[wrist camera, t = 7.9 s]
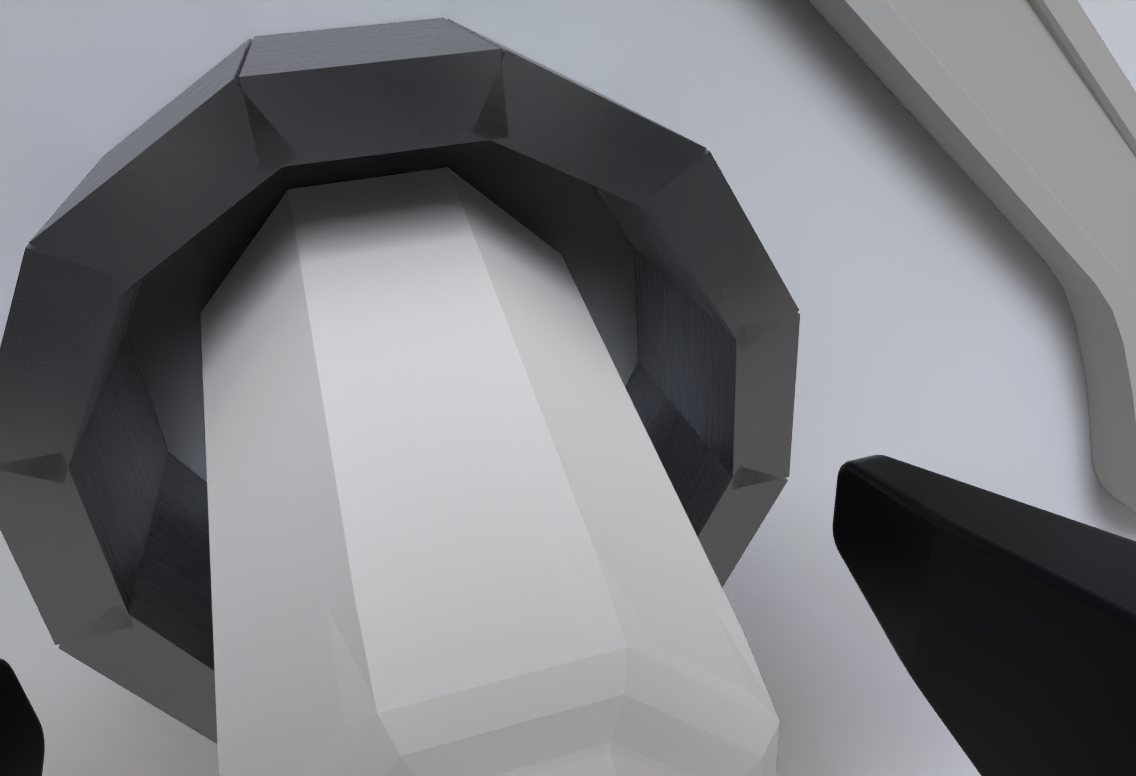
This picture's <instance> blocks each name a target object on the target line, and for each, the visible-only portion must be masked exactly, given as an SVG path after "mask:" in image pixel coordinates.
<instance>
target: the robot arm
mask: <svg viewBox="0 0 1136 776" xmlns="http://www.w3.org/2000/svg"><path fill="white" fill-rule="evenodd" d="M833 536H834V540H835V544H836V546H837V549H838V551H839V553H840V555H841V557H842V558H843V560H844V562H845V564H846V565H847V567H848V569H849V571H850V572H851V574H852V576H853V578H854V579H855V581H856V583H857V585H858V586H859V588H860V590H861V592H862V593H863V595H864V597H865V599H866V600H867V602H868V604H869V606H870V607H871V609H872V611H873V613H874V614H875V616H876V618H877V620H878V622H879V623H880V625H881V627H882V629H883V630H884V632H885V634H886V636H887V637H888V639H889V641H890V643H891V644H892V646H893V648H894V650H895V651H896V653H897V655H898V656H899V658H900V660H901V661H902V663H903V665H904V666H905V668H906V669H907V671H908V673H909V674H910V676H911V677H912V679H913V680H914V682H915V683H916V685H917V686H918V688H919V689H920V691H921V692H922V693H923V695H924V696H925V698H926V699H927V701H928V702H929V703H930V705H931V706H932V708H933V709H934V710H935V712H936V713H937V714H938V716H939V717H940V719H941V720H942V721H943V723H944V724H945V726H946V727H947V728H948V730H949V731H950V733H951V734H952V735H953V737H954V738H955V740H956V741H957V742H958V744H959V745H960V747H961V748H962V749H963V751H964V752H965V754H966V755H967V756H968V758H969V759H970V761H971V762H972V763H973V765H974V766H975V767H976V769H977V770H978V772H979V773H980V774H981V776H1136V541H1133V540H1130V539H1127V538H1124V537H1121V536H1118V535H1115V534H1112V533H1109V532H1106V531H1104V530H1101V529H1098V528H1095V527H1092V526H1089V525H1086V524H1083V523H1080V522H1077V521H1074V520H1071V519H1068V518H1066V517H1063V516H1060V515H1057V514H1054V513H1051V512H1048V511H1045V510H1042V509H1039V508H1036V507H1033V506H1031V505H1028V504H1025V503H1022V502H1019V501H1016V500H1013V499H1010V498H1007V497H1004V496H1001V495H998V494H996V493H993V492H990V491H987V490H984V489H981V488H978V487H975V486H972V485H969V484H966V483H963V482H960V481H958V480H955V479H952V478H949V477H946V476H943V475H940V474H937V473H934V472H931V471H928V470H925V469H923V468H920V467H917V466H914V465H911V464H908V463H905V462H902V461H899V460H896V459H893V458H890V457H888V456H884V455H873V456H869V457H864V458H860V459H856V460H851V461H848V462H846V463H845V464H843V465H842V466H841V468H840V470H839V472H838V478H837V487H836V497H835V507H834V517H833ZM44 751H45V745H44V735H43V730H42V726H41V724H40V721H39V719H38V717H37V715H36V713H35V711H34V709H33V708H32V706H31V704H30V702H29V700H28V698H27V696H26V694H25V692H24V690H23V688H22V686H21V684H20V683H19V681H18V679H17V677H16V675H15V673H14V671H13V669H12V668H11V666H10V665H9V664H8V663H7V662H6V661H5V660H3V659H0V776H42V771H43V762H44Z"/></svg>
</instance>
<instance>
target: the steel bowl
mask: <svg viewBox="0 0 1136 776" xmlns="http://www.w3.org/2000/svg"><path fill="white" fill-rule="evenodd" d="M486 140H491V141H494V142H496V143H498V144H500V145H503V146H505V147H507V148H509V149H512V150H514V151H516V152H519V153H521V154H523V155H525V156H528V157H530V158H532V159H535V160H537V161H539V162H541V163H544V164H546V165H548V166H550V167H553V168H555V169H557V170H560V171H562V172H564V173H566V174H569V175H571V176H573V177H576V178H578V179H580V180H582V181H585V182H587V183H589V184H591V185H594V187H595V188H596V190H597V191H598V193H599V194H600V196H601V197H602V199H603V200H604V202H605V203H606V205H607V206H608V208H609V209H610V211H611V212H612V214H613V215H614V217H615V218H616V220H617V221H618V223H619V224H620V226H621V227H622V229H623V230H624V232H625V233H626V235H627V236H628V238H629V239H630V241H631V242H632V244H633V245H634V247H635V256H636V288H637V321H638V353H639V362H638V364H637V366H636V368H635V370H634V372H633V374H632V376H631V378H630V380H629V382H628V384H627V386H626V387H625V388H626V390H627V392H628V394H629V396H630V398H631V400H632V402H633V405H634V407H635V409H636V411H637V413H638V415H639V417H640V419H641V421H642V423H643V425H644V427H645V429H646V431H647V434H648V436H649V438H650V440H651V442H652V444H653V446H654V448H655V450H656V452H657V454H658V456H659V458H660V460H661V463H662V465H663V467H664V469H665V471H666V473H667V475H668V477H669V479H670V481H671V483H672V485H673V487H674V489H675V492H676V494H677V496H678V498H679V500H680V502H681V504H682V506H683V508H684V510H685V512H686V514H687V516H688V518H689V520H690V523H691V525H692V527H693V529H694V531H695V533H696V535H697V537H698V539H699V541H700V543H701V545H702V547H703V549H704V552H705V554H706V556H707V558H708V560H709V562H710V564H711V566H712V568H713V570H714V572H715V574H716V576H717V578H718V581H719V583H720V585H721V587H723V585H724V584H725V582H726V580H727V579H728V577H729V576H730V574H731V572H732V571H733V569H734V567H735V566H736V564H737V562H738V561H739V559H740V558H741V556H742V554H743V553H744V551H745V549H746V548H747V546H748V545H749V543H750V541H751V540H752V538H753V536H754V535H755V533H756V531H757V530H758V528H759V527H760V525H761V523H762V522H763V520H764V518H765V517H766V515H767V513H768V512H769V510H770V509H771V507H772V505H773V504H774V502H775V500H776V499H777V497H778V496H779V494H780V492H781V491H782V489H783V487H784V486H785V484H786V482H787V481H788V480H787V479H786V478H785V477H789V471H790V456H791V441H792V426H793V411H794V396H795V381H796V366H797V351H798V336H799V322H800V314H799V313H797V312H798V311H799V309H798V307H797V306H796V304H795V302H794V300H793V299H792V297H791V295H790V293H789V291H788V290H787V288H786V286H785V284H784V283H783V281H782V279H781V277H780V275H779V274H778V272H777V270H776V268H775V266H774V265H773V263H772V261H771V259H770V258H769V256H768V254H767V252H766V250H765V249H764V247H763V245H762V243H761V242H760V240H759V238H758V236H757V234H756V233H755V231H754V229H753V227H752V226H751V224H750V222H749V220H748V218H747V217H746V215H745V213H744V211H743V210H742V208H741V206H740V204H739V202H738V201H737V199H736V197H735V195H734V193H733V192H732V190H731V188H730V186H729V185H728V183H727V181H726V179H725V177H724V176H723V174H722V172H721V170H720V169H719V167H718V165H717V163H716V161H715V160H714V158H713V156H712V154H711V153H710V151H708V150H706V148H705V147H703V146H701V145H699V144H697V143H695V142H693V141H691V140H689V139H687V138H685V137H683V136H682V135H680V134H678V133H676V132H674V131H672V130H670V129H668V128H666V127H664V126H662V125H660V124H658V123H656V122H654V121H652V120H650V119H648V118H646V117H644V116H643V115H641V114H639V113H637V112H635V111H633V110H631V109H629V108H627V107H625V106H623V105H621V104H619V103H617V102H615V101H613V100H611V99H609V98H607V97H605V96H603V95H601V94H599V93H597V92H595V91H593V90H591V89H589V88H587V87H585V86H583V85H581V84H579V83H577V82H575V81H573V80H571V79H569V78H567V77H565V76H563V75H561V74H559V73H557V72H555V71H553V70H551V69H549V68H547V67H545V66H543V65H541V64H539V63H537V62H535V61H533V60H530V59H528V58H526V57H524V56H522V55H520V54H518V53H516V52H514V51H512V50H510V49H508V48H506V47H504V46H502V45H500V44H498V43H496V42H494V41H492V40H490V39H488V38H486V37H484V36H482V35H480V34H478V33H476V32H474V31H472V30H470V29H468V28H466V27H464V26H461V25H459V24H457V23H455V22H453V21H451V20H449V19H448V20H446V19H444V18H438V19H428V20H418V21H408V22H398V23H388V24H378V25H368V26H358V27H347V28H337V29H327V30H317V31H307V32H297V33H287V34H277V35H267V36H256V37H254V39H253V41H252V40H251V39H249V40H248V41H246V42H245V43H244V44H243V45H241V46H240V47H239V48H238V49H236V50H235V51H234V52H233V53H231V54H230V55H229V56H228V57H226V58H225V59H224V60H223V61H221V62H220V63H219V64H218V65H216V66H215V67H214V68H213V69H211V70H210V71H209V72H208V73H206V74H205V75H204V76H203V77H201V78H200V79H199V80H198V81H196V82H195V83H194V84H193V85H192V86H190V87H189V88H188V89H187V90H185V91H184V92H183V93H182V94H180V95H179V96H178V97H177V98H175V99H174V100H173V101H172V102H170V103H169V104H168V105H167V106H165V107H164V108H163V109H162V110H160V111H159V112H158V113H157V114H155V115H154V116H153V117H152V118H150V119H149V120H148V121H147V122H145V123H144V124H143V125H142V126H140V127H139V128H138V129H137V130H135V131H134V132H133V133H132V134H131V135H129V136H128V137H127V138H126V139H124V140H123V141H122V142H121V143H119V144H118V145H117V146H116V147H114V148H113V149H112V150H111V151H109V152H108V153H107V154H106V155H104V156H103V157H102V159H101V160H100V161H99V162H98V163H97V164H96V166H95V167H94V168H93V169H92V170H91V171H90V172H89V174H88V175H87V176H86V177H85V178H84V179H83V181H82V182H81V183H80V184H79V185H78V186H77V188H76V189H75V190H74V191H73V192H72V193H71V194H70V196H69V197H68V198H67V199H66V200H65V201H64V203H63V204H62V205H61V206H60V207H59V208H58V210H57V211H56V212H55V213H54V214H53V215H52V217H51V218H50V219H49V220H48V221H47V222H46V223H45V225H44V226H43V227H42V228H41V229H40V230H39V232H38V233H37V234H36V235H35V236H34V237H33V239H32V240H31V241H30V242H29V244H28V246H27V247H26V248H25V252H24V256H23V260H22V264H21V268H20V272H19V276H18V280H17V284H16V288H15V292H14V296H13V300H12V304H11V308H10V312H9V315H8V319H7V323H6V327H5V331H4V335H3V339H2V343H1V347H0V530H1V532H2V534H3V536H4V538H5V540H6V542H7V544H8V547H9V549H10V551H11V553H12V555H13V557H14V559H15V561H16V563H17V565H18V568H19V570H20V572H21V574H22V576H23V578H24V580H25V582H26V584H27V586H28V588H29V591H30V593H31V595H32V597H33V599H34V601H35V603H36V605H37V607H38V609H39V611H40V614H41V616H42V618H43V620H44V622H45V624H46V626H47V628H48V630H49V632H50V634H51V637H52V639H53V641H54V643H55V645H57V644H60V645H59V649H61V650H63V651H64V652H66V653H68V654H69V655H71V656H72V657H74V658H76V659H77V660H79V661H81V662H82V663H84V664H86V665H87V666H89V667H91V668H92V669H94V670H96V671H97V672H99V673H101V674H102V675H104V676H106V677H107V678H109V679H111V680H112V681H114V682H116V683H117V684H119V685H121V686H122V687H124V688H125V689H127V690H129V691H130V692H132V693H134V694H135V695H137V696H139V697H140V698H142V699H144V700H145V701H147V702H149V703H150V704H152V705H154V706H155V707H157V708H159V709H160V710H162V711H164V712H165V713H167V714H169V715H170V716H172V717H174V718H175V719H177V720H179V721H180V722H182V723H183V724H185V725H187V726H188V727H190V728H192V729H193V730H195V731H197V732H198V733H200V734H202V735H203V736H205V737H207V738H208V739H210V740H212V741H213V742H215V743H217V720H216V695H215V670H214V644H213V619H212V594H211V569H210V543H209V518H208V493H207V483H206V482H205V481H203V480H202V479H201V478H200V477H198V476H197V475H196V474H195V473H193V472H192V471H191V470H190V469H188V468H187V467H186V466H185V465H183V464H182V463H181V462H180V461H178V460H177V459H176V458H175V457H174V456H172V455H171V454H170V453H169V452H168V451H167V448H166V445H165V442H164V439H163V436H162V433H161V430H160V427H159V424H158V422H157V419H156V416H155V413H154V410H153V407H152V404H151V401H150V398H149V395H148V392H147V389H146V387H145V384H144V381H143V378H142V375H141V372H140V369H139V366H138V363H137V360H136V357H135V354H134V352H133V349H132V346H131V343H130V340H129V337H128V334H127V331H126V330H127V327H128V324H129V320H130V317H131V314H132V310H133V307H134V304H135V300H136V297H137V294H138V290H139V287H140V284H141V281H142V277H143V276H145V275H146V274H147V273H148V272H150V271H151V270H152V269H154V268H155V267H156V266H157V265H159V264H160V263H161V262H162V261H164V260H165V259H166V258H167V257H169V256H170V255H171V254H173V253H174V252H175V251H176V250H178V249H179V248H180V247H181V246H183V245H184V244H185V243H186V242H188V241H189V240H190V239H192V238H193V237H194V236H195V235H197V234H198V233H199V232H200V231H202V230H203V229H204V228H205V227H207V226H208V225H209V224H211V223H212V222H213V221H214V220H216V219H217V218H218V217H219V216H221V215H222V214H223V213H224V212H226V211H227V210H228V209H230V208H231V207H232V206H233V205H235V204H236V203H237V202H238V201H240V200H241V199H242V198H243V197H245V196H246V195H247V194H249V193H250V192H251V191H252V190H254V189H255V188H256V187H257V186H259V185H260V184H261V183H262V182H264V181H265V180H266V179H267V178H269V177H270V176H271V175H273V174H274V173H275V172H276V171H278V170H279V169H280V168H281V167H286V166H294V165H301V164H309V163H317V162H324V161H332V160H340V159H348V158H355V157H363V156H371V155H378V154H386V153H394V152H401V151H409V150H417V149H425V148H432V147H440V146H448V145H455V144H463V143H471V142H478V141H486Z"/></svg>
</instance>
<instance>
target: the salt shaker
mask: <svg viewBox="0 0 1136 776" xmlns="http://www.w3.org/2000/svg"><path fill="white" fill-rule="evenodd" d="M200 316H201V342H202V367H203V392H204V417H205V443H206V468H207V493H208V518H209V543H210V569H211V594H212V619H213V644H214V670H215V695H216V720H217V745H218V770H219V776H776V772H777V757H778V742H779V726H780V721H779V718H778V716H777V714H776V711H775V709H774V706H773V704H772V701H771V699H770V696H769V694H768V691H767V689H766V686H765V684H764V682H763V679H762V677H761V674H760V672H759V669H758V667H757V664H756V662H755V659H754V657H753V655H752V652H751V650H750V647H749V645H748V642H747V640H746V637H745V635H744V632H743V630H742V628H741V626H740V624H739V622H738V620H737V618H736V616H735V614H734V612H733V610H732V607H731V605H730V603H729V601H728V599H727V597H726V595H725V593H724V591H723V589H722V587H721V585H720V583H719V581H718V578H717V576H716V574H715V572H714V570H713V568H712V566H711V564H710V562H709V560H708V558H707V556H706V554H705V552H704V549H703V547H702V545H701V543H700V541H699V539H698V537H697V535H696V533H695V531H694V529H693V527H692V525H691V523H690V520H689V518H688V516H687V514H686V512H685V510H684V508H683V506H682V504H681V502H680V500H679V498H678V496H677V494H676V492H675V489H674V487H673V485H672V483H671V481H670V479H669V477H668V475H667V473H666V471H665V469H664V467H663V465H662V463H661V460H660V458H659V456H658V454H657V452H656V450H655V448H654V446H653V444H652V442H651V440H650V438H649V436H648V434H647V431H646V429H645V427H644V425H643V423H642V421H641V419H640V417H639V415H638V413H637V411H636V409H635V407H634V405H633V402H632V400H631V398H630V396H629V394H628V392H627V390H626V388H625V386H624V384H623V382H622V380H621V378H620V376H619V374H618V371H617V369H616V367H615V365H614V363H613V361H612V359H611V357H610V355H609V353H608V351H607V349H606V347H605V345H604V342H603V340H602V338H601V336H600V334H599V332H598V330H597V328H596V326H595V324H594V322H593V320H592V318H591V316H590V313H589V311H588V309H587V307H586V305H585V303H584V301H583V299H582V297H581V295H580V293H579V291H578V289H577V287H576V284H575V282H574V280H573V278H572V276H571V274H570V272H569V270H568V268H567V266H566V264H565V262H564V260H563V258H562V256H561V254H560V253H559V252H557V251H556V250H555V249H553V248H552V247H551V246H549V245H548V244H547V243H545V242H544V241H543V240H542V239H540V238H539V237H538V236H536V235H535V234H534V233H532V232H531V231H530V230H528V229H527V228H526V227H525V226H523V225H522V224H521V223H519V222H518V221H517V220H515V219H514V218H513V217H511V216H510V215H509V214H508V213H506V212H505V211H504V210H502V209H501V208H500V207H498V206H497V205H496V204H495V203H493V202H492V201H491V200H489V199H488V198H487V197H485V196H484V195H483V194H481V193H480V192H479V191H478V190H476V189H475V188H474V187H472V186H471V185H470V184H468V183H467V182H466V181H464V180H463V179H462V178H461V177H459V176H458V175H457V174H455V173H454V172H453V171H451V170H450V169H449V168H440V169H432V170H425V171H418V172H411V173H403V174H396V175H389V176H382V177H374V178H367V179H360V180H353V181H346V182H338V183H331V184H324V185H317V186H309V187H302V188H295V189H288V191H287V192H286V193H285V195H284V196H283V198H282V199H281V201H280V202H279V203H278V205H277V206H276V208H275V209H274V210H273V212H272V213H271V215H270V216H269V217H268V219H267V220H266V222H265V223H264V224H263V226H262V227H261V229H260V230H259V231H258V233H257V234H256V236H255V237H254V238H253V240H252V241H251V243H250V244H249V246H248V247H247V248H246V250H245V251H244V253H243V254H242V255H241V257H240V258H239V260H238V261H237V262H236V264H235V265H234V267H233V268H232V269H231V271H230V272H229V274H228V275H227V276H226V278H225V279H224V281H223V282H222V284H221V285H220V286H219V288H218V289H217V291H216V292H215V293H214V295H213V296H212V298H211V299H210V300H209V302H208V303H207V305H206V306H205V307H204V309H203V310H202V312H201V313H200Z"/></svg>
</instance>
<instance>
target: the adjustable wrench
mask: <svg viewBox="0 0 1136 776" xmlns="http://www.w3.org/2000/svg"><path fill="white" fill-rule="evenodd" d="M808 1H809V2H810V3H811V4H812V5H813V6H814V7H815V8H816V9H817V11H818V12H819V13H820V14H821V15H822V16H823V17H824V18H825V19H826V21H827V22H828V23H829V24H830V25H831V26H832V27H833V28H834V29H835V30H836V32H837V33H838V34H839V35H840V36H841V37H842V38H843V39H844V40H845V41H846V43H847V44H848V45H849V46H850V47H851V48H852V49H853V50H854V51H855V52H856V54H857V55H858V56H859V57H860V58H861V59H862V60H863V61H864V62H865V64H866V65H867V66H868V67H869V68H870V69H871V70H872V71H873V72H874V73H875V75H876V76H877V77H878V78H879V79H880V80H881V81H882V82H883V83H884V84H885V86H886V87H887V88H888V89H889V90H890V91H891V92H892V93H893V94H894V95H895V97H896V98H897V99H898V100H899V101H900V102H901V103H902V104H903V105H904V106H905V108H906V109H907V110H908V111H909V112H910V113H911V114H912V115H913V116H914V118H915V119H916V120H917V121H918V122H919V123H920V124H921V125H922V126H923V127H924V129H925V130H926V131H927V132H928V133H929V134H930V135H931V136H932V137H933V138H934V140H935V141H936V142H937V143H938V144H939V145H940V146H941V147H942V148H943V149H944V151H945V152H946V153H947V154H948V155H949V156H950V157H951V158H952V159H953V161H954V162H955V163H956V164H957V165H958V166H959V167H960V168H961V169H962V170H963V172H964V173H965V174H966V175H967V176H968V177H969V178H970V179H971V180H972V181H973V183H974V184H975V185H976V186H977V187H978V188H979V189H980V190H981V191H982V192H983V194H984V195H985V196H986V197H987V198H988V199H989V200H990V201H991V202H992V204H993V205H994V206H995V207H996V208H997V209H998V210H999V211H1000V212H1001V213H1002V215H1003V216H1004V217H1005V218H1006V219H1007V220H1008V221H1009V222H1010V223H1011V224H1012V226H1013V227H1014V228H1015V229H1016V230H1017V231H1018V232H1019V233H1020V234H1021V235H1022V237H1023V238H1024V239H1025V240H1026V241H1027V242H1028V243H1029V244H1030V245H1031V246H1032V248H1033V249H1034V250H1035V251H1036V252H1037V253H1038V254H1039V255H1040V256H1041V258H1042V259H1043V260H1044V261H1045V262H1046V264H1047V265H1048V267H1049V268H1050V270H1051V271H1052V273H1053V274H1054V276H1055V277H1056V279H1057V280H1058V282H1059V283H1060V285H1061V286H1062V288H1063V290H1064V293H1065V296H1066V299H1067V301H1068V304H1069V307H1070V310H1071V312H1072V315H1073V318H1074V323H1075V328H1076V332H1077V337H1078V342H1079V347H1080V351H1081V356H1082V361H1083V366H1084V372H1085V379H1086V386H1087V394H1088V409H1089V425H1090V441H1091V457H1092V464H1093V467H1094V470H1095V474H1096V476H1097V478H1098V479H1099V481H1100V483H1101V484H1102V486H1103V487H1104V488H1105V490H1106V491H1107V492H1108V493H1109V494H1110V495H1111V496H1113V497H1114V498H1116V499H1117V500H1118V501H1120V502H1121V503H1123V504H1124V505H1126V506H1127V507H1129V508H1130V509H1132V510H1133V511H1135V512H1136V92H1135V91H1134V89H1133V87H1132V86H1131V84H1130V83H1129V81H1128V80H1127V78H1126V76H1125V75H1124V73H1123V72H1122V70H1121V69H1120V67H1119V65H1118V64H1117V62H1116V61H1115V59H1114V58H1113V56H1112V54H1111V53H1110V51H1109V50H1108V48H1107V47H1106V45H1105V43H1104V42H1103V40H1102V39H1101V37H1100V36H1099V34H1098V32H1097V31H1096V29H1095V28H1094V26H1093V25H1092V23H1091V21H1090V20H1089V18H1088V17H1087V15H1086V14H1085V12H1084V10H1083V9H1082V7H1081V6H1080V4H1079V3H1078V1H1077V0H808Z"/></svg>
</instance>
